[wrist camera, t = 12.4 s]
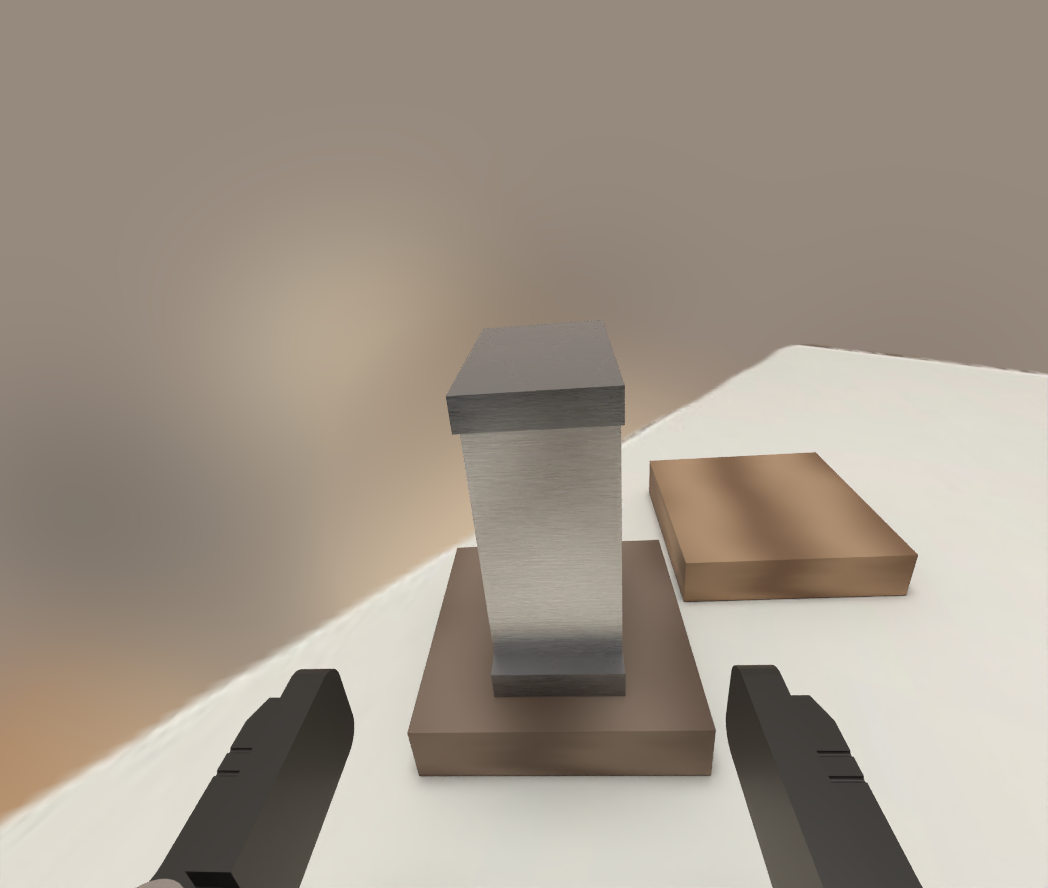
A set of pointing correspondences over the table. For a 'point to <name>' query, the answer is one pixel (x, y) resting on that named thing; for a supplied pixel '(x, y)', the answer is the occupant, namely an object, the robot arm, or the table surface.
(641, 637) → the stand
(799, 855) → the robot arm
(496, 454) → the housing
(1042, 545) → the table surface
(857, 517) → the stand
